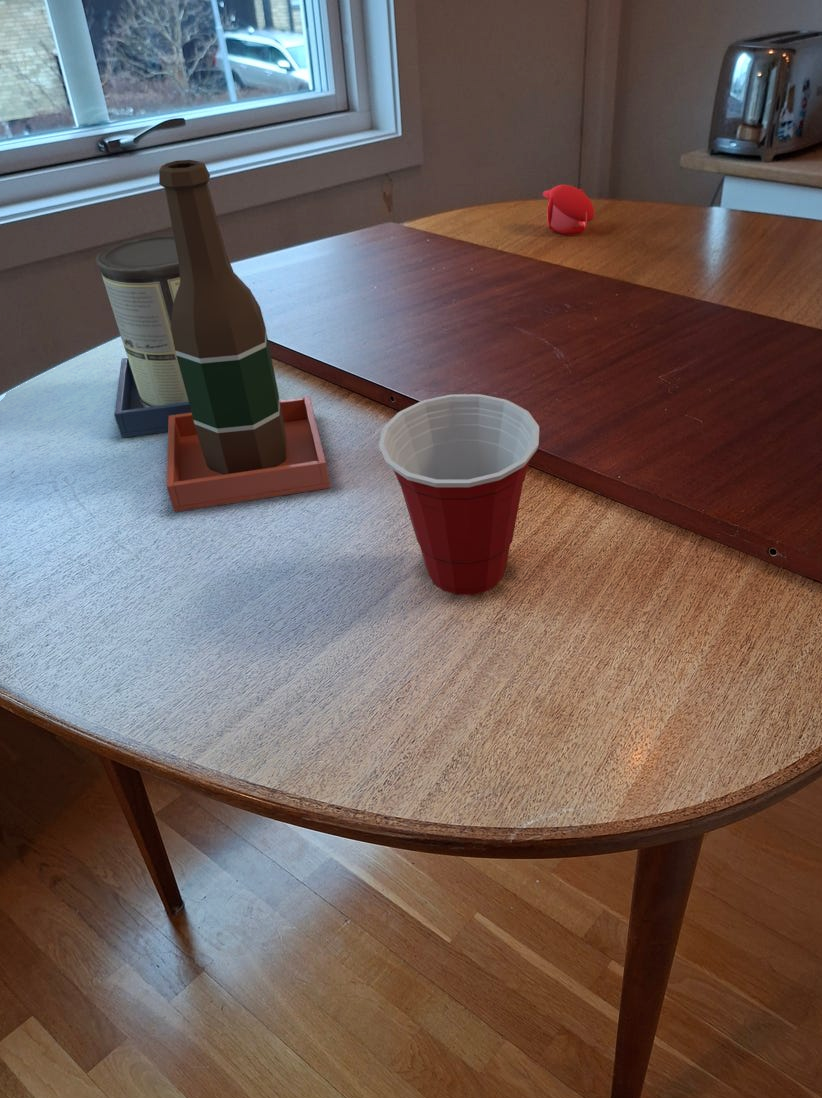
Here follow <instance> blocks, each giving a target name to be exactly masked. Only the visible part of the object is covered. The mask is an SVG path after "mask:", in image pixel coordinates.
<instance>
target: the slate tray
mask: <svg viewBox="0 0 822 1098" xmlns="http://www.w3.org/2000/svg"><path fill="white" fill-rule="evenodd" d="M119 368H120V369H119V376H118V383H117V391H116V400H115V406H114V412H113V413H114V418H115V422H116V424H117V428H118V430H119V433H120V436H121V439H124V438H133V437H138V436H139V437H140V436H146V435H153V434H161V433H168V422H169V416H170V415H177V414H184V413H192V412H191V409H190V405H189V402H183V403H176V404H168V405H161V406H154V407H146V408H143V406H142V405H141V402H140V396H139V392H138V389H137V386H136V383H135V380H134V376H133V373H132V370H131V367H130V364H129V360H128V357H124V358H121V361H120V367H119Z"/></svg>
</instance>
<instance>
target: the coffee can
mask: <svg viewBox="0 0 822 1098" xmlns="http://www.w3.org/2000/svg"><path fill="white" fill-rule="evenodd" d="M95 263H96V266H97V269H98V270H99V271H100V274H101V277H102V280H103V283H104V287H105V289H106V293H107V296H108V299H109V302H110V306H111V309H112V312H113V316H114V319H115V322H116V325H117V328H118V331H119V334H120V338H121V340H122V341H121V342H122V345H123V349H124V351H125V354H126V358H128V360H129V364H130V367H131V370H132V373H133V376H134V380H135V383H136V386H137V389H138V392H139V396H140V402H141V405H142V406H143V408H146V407H154V406H161V405H168V404H176V403H183V402H189V401H188V397H187V393H186V390H185V386H184V382H183V378H182V375H181V371H180V367H179V363H178V360H177V356H176V352H175V347H174V342H173V337H172V331H171V320H172V308H173V303H174V300H175V296H176V293H177V290H178V287H179V285H180V272H179V261H178V256H177V250H176V245H175V239H174V234H173V233H165V234H164V233H162V234H152V235H146V236H145V235H144V236H139V237H135V238H130V239H127V240H124V241H123V240H122V241H120V242H117V243H114V244H113V245H109V246H108V247H106V248H104V249H103V250H102V251H100V252H99V253H98V254H97V255H96V257H95Z"/></svg>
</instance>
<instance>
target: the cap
mask: <svg viewBox="0 0 822 1098" xmlns="http://www.w3.org/2000/svg"><path fill="white" fill-rule="evenodd" d="M542 196H543V197H544V198H546V199H548V203H547V207H546V208H547V209H546V210H547V211H546V221H547V228H548V229H549V230H550V231H551V232H552V233H555V232H556V233H560V234H564V235H576V234H582V233H584V232H585V231H586V229H587V226H588V223H589V222H592V221H593V219H594V217H595V208H594V205H593V203H592V201H591V199H590V198H589V197H588V195H587V194H586V193H585V191H584V190H583V189H582V188H577V187H575V186H572V185H569V184H558V185H556V186H553V187H552V188H551V189H547V190H544V191H543V192H542ZM577 225H578V226H577Z"/></svg>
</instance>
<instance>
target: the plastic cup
mask: <svg viewBox="0 0 822 1098" xmlns="http://www.w3.org/2000/svg"><path fill="white" fill-rule="evenodd" d="M539 445H540V425H539V424H538V423H537V421H536V420H535V419H534V417H533V416H532V414H531V413H530V412H529V411H528V410H527V409H525V408H523V407H521V406H519V405H518V404H516V403H514V402H512V401H510V400H509V399H505V398H500V397H495V396H490V395H486V394H481V393H472V394H471V393H470V394H468V393H462V394H461V393H458V394H457V393H456V394H455V393H453V394H451V393H450V394H447V395H442V396H437V397H432V398H428V399H424V400H420V401H419V402H417V403H415V404H413V405H410V406H408V407H406V408H404V409H402V410H400V411H398V412H396V414H395V415H394V416H393V417H392V418H391V419H390V420H389V421H388V422H387V423H386V424H385V425H384V426H383V427H382V429H381V434H380V437H379V442H378V448H379V450H380V452H381V454H382V456H383V458H384V461H385V463H386V464H387V467H388V468H390V469H391V470H392V471H393V472H394V475H395V476H396V479H397V481H398V484H399V486H400V488H401V492H402V495H403V499H404V502H405V505H406V509H407V513H408V515H409V518H410V522H411V525H412V529H413V532H414V535H415V538H416V541H417V544H418V546H419V548H420V552H421V555H422V559H423V562H424V566H425V568H426V571H427V574H428V575H429V578H430V580H431V582H432V584H433V585H434V586H436V587H437V588H439V589H440V591H443V592H446V593H449V594H453V595H457V596H458V595H461V596H463V595H464V596H472V595H476V594H481V593H485V592H487V591H489V590H491V589H493V588H494V587H496V586H497V585H498V584H499V583H500V582H501V581H502V579H503V578H504V574H505V572H506V570H507V565H508V560H509V559H508V558H509V554H510V548H511V544H512V542H513V538H514V533H515V527H516V523H517V518H518V517H517V516H518V511H519V506H520V503H521V496H522V491H523V486H524V482H525V480H526V475H527V470H528V469H529V466H530V461H531V459H532V457H533V456H534V454H535V453H536V452H537V451H538V449H539V448H538V447H539Z"/></svg>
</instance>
